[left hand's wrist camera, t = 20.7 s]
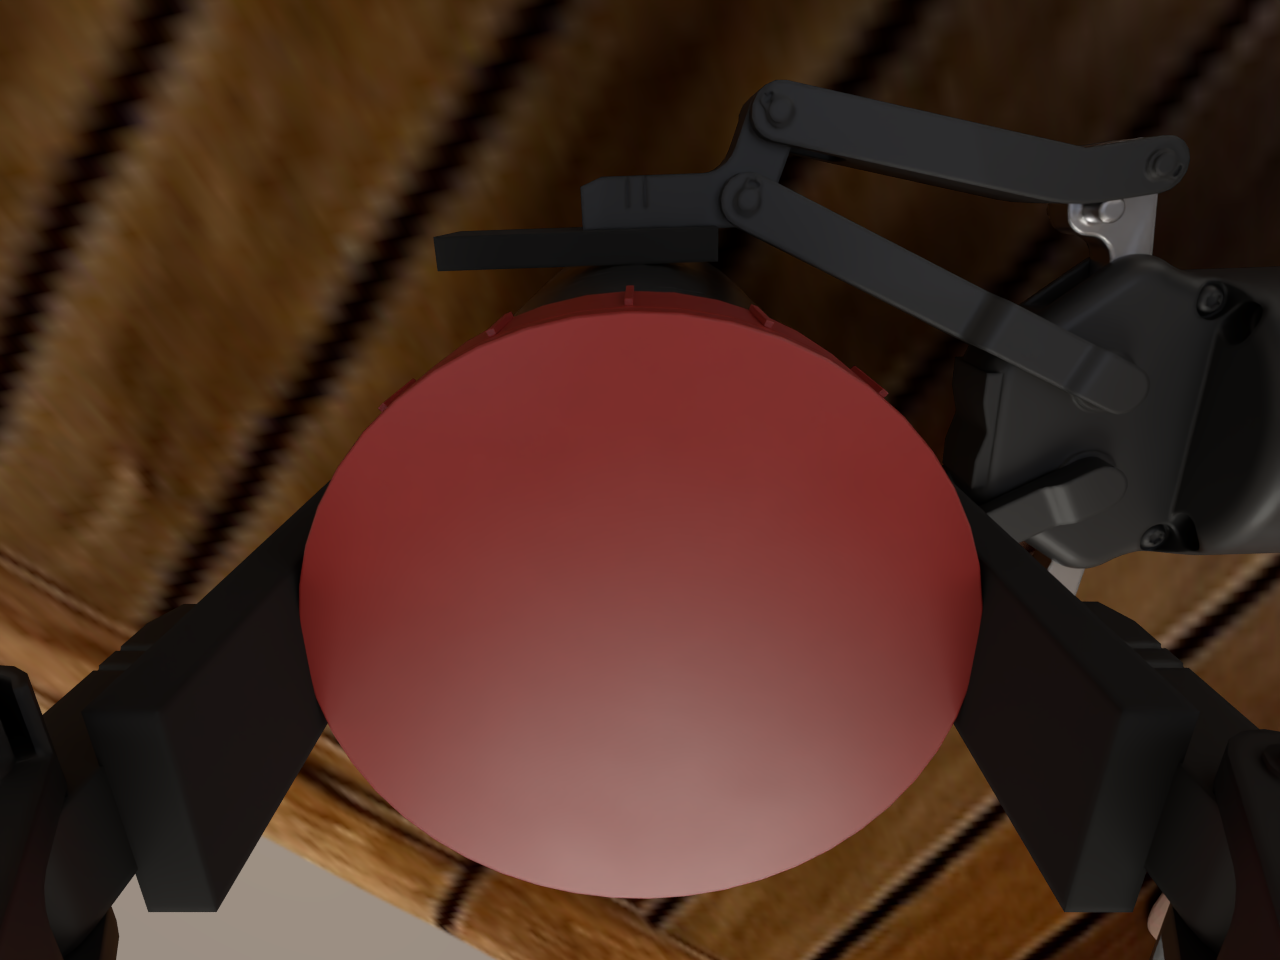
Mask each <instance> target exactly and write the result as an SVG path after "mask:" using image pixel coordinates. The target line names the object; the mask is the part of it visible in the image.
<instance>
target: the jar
mask: <svg viewBox="0 0 1280 960" xmlns="http://www.w3.org/2000/svg"><path fill="white" fill-rule="evenodd" d="M627 285H634V291H649V292H675V293H681V294H686V295H692V296H698V297H704V298H710V299H715V300H720V301H723V302H726V303H729V304H732V305H735V306H739V307H742V308H745V309H748V310H749V308H750V305H751V304H752V305H755V306H758V305H757V304H755V303H754V302H753V301H752V300H751V299H750V298H749V297H748V296H747V295H746V294H745V293H744V292H743V291H742V290H741V289H740V288H739V287H738V286H737V285H736V284H735V283H733V282H732V281H731V280H730V279H729V278H728V277H727V276H726V275H725V274H724V273H723V272H721V271H720V270H718V269H717V268H715V267H714V266H713V265H711V264H710V263H708V262H689V263H660V264H631V265H602V266H573V267H565V268H564V269H563V270H561V271H560V272H558V273H557V274H556V275H555V276H554V277H553V278H552V279H551V280H550V281H548V282H547V283H546V284H545V285H544V286H543V287H542V288H541V289H540V290H539V291H538V292H537V293H536V294H535V295H534V296H533V297H532V298H531V299H530V300H529V301H528V302H527V303H526V304H525V305H524V306H522V307H521V308H520V309H519V310H518V311H517V312H516V313H515V314H514V315H513V316H514V317H515V316H517V315H520V314H523V313H525V312H528V311H530V310H533V309H536V308H538V307H541V306H543V305H547V304H551V303H556V302H560V301H564V300H568V299H572V298H577V297H581V296H585V295H593V294H603V293H613V292H624V291H626V286H627ZM758 307H759V306H758ZM759 308H760V307H759ZM760 309H761V308H760ZM761 310H762V309H761ZM762 311H763V310H762ZM763 312H764V311H763ZM764 313H765V312H764ZM765 314H766V313H765ZM766 315H767V314H766ZM767 316H768V315H767ZM768 317H769V316H768ZM769 318H770V317H769Z"/></svg>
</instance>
